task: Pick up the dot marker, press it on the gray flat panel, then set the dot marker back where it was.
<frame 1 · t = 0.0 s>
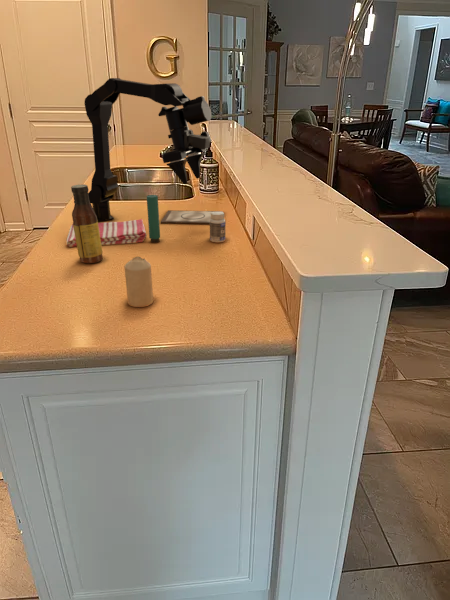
hand: (192, 181, 146), 15 cm above the counter, tool pointing down, fingers open, 9 cm apart
dot marker: (155, 241, 141), on the counter
dish towel: (107, 236, 146), on the counter
sauce bottle: (90, 261, 127), on the counter
candle: (140, 302, 103), on the counter
pill bottle: (217, 240, 142), on the counter
gray flat panel: (192, 218, 165), on the counter
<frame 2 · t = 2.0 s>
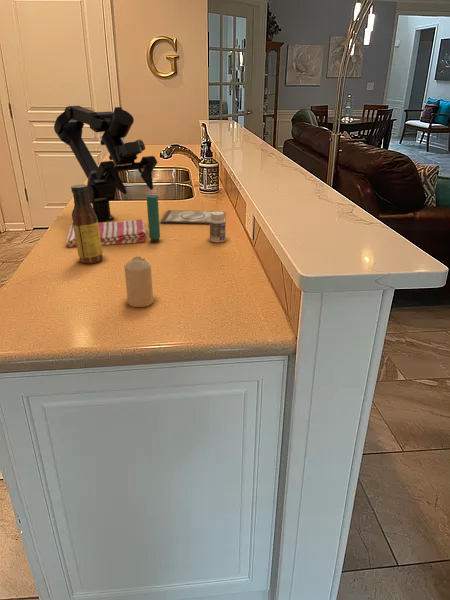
hand: (139, 191, 141), 14 cm above the counter, tool tilted 45°, fingers open, 9 cm apart
nothing on the counter moved.
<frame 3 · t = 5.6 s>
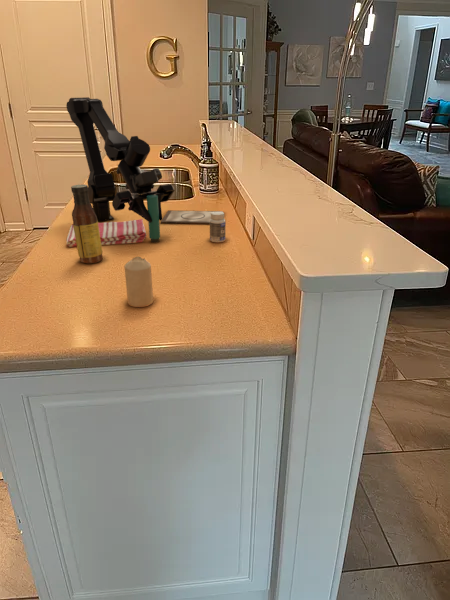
hand: (156, 220, 137), 7 cm above the counter, tool tilted 45°, fingers closed on dot marker, 3 cm apart
dot marker: (155, 241, 141), on the counter, touching gripper
everything else where it was.
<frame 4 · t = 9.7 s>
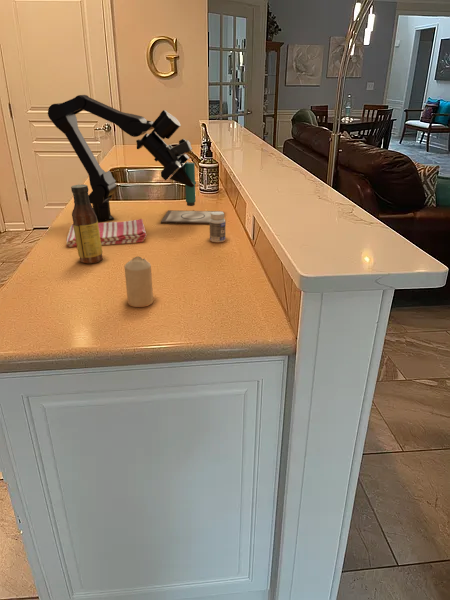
hand: (194, 185, 154), 13 cm above the counter, tool tilted 45°, fingers closed on dot marker, 3 cm apart
dot marker: (190, 205, 157), point 6 cm above the counter, touching gripper
everything else where it was.
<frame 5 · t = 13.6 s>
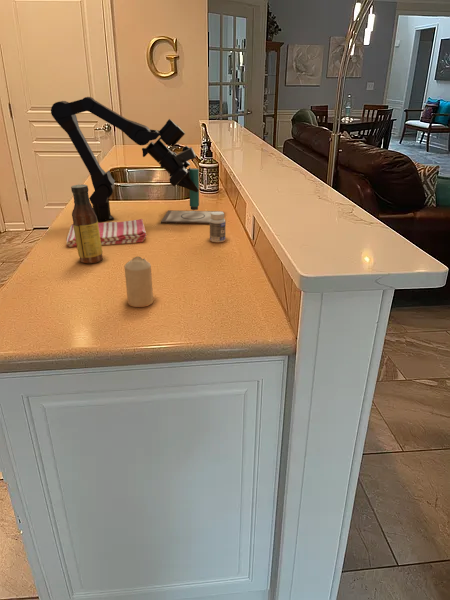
hand: (198, 190, 161), 9 cm above the counter, tool tilted 45°, fingers closed on dot marker, 3 cm apart
dot marker: (194, 209, 164), point 3 cm above the counter, touching gripper
everything else where it was.
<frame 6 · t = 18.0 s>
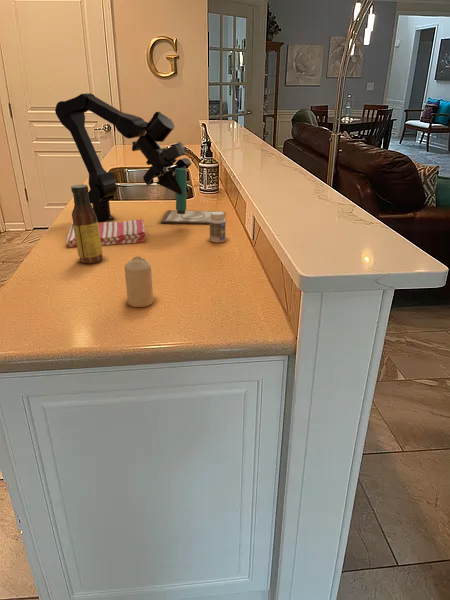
hand: (185, 192, 144), 13 cm above the counter, tool tilted 45°, fingers closed on dot marker, 3 cm apart
dot marker: (181, 213, 148), point 6 cm above the counter, touching gripper
everything else where it was.
when the fingers open (7 cm above the counter, at t = 21.7 s): dot marker stays where it is, on the counter.
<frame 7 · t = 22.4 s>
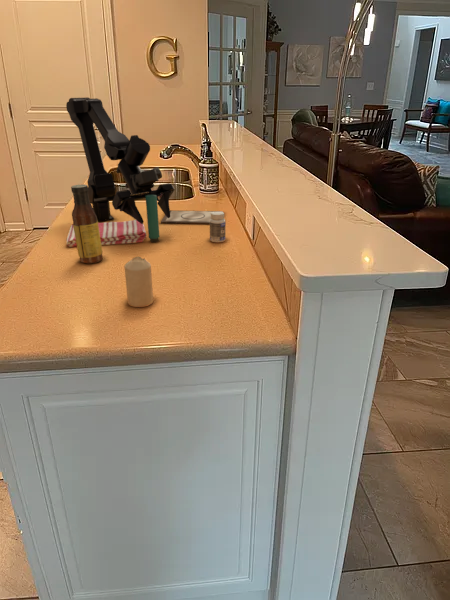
hand: (156, 220, 137), 7 cm above the counter, tool tilted 45°, fingers open, 9 cm apart
dot marker: (154, 241, 141), on the counter
everything else where it was.
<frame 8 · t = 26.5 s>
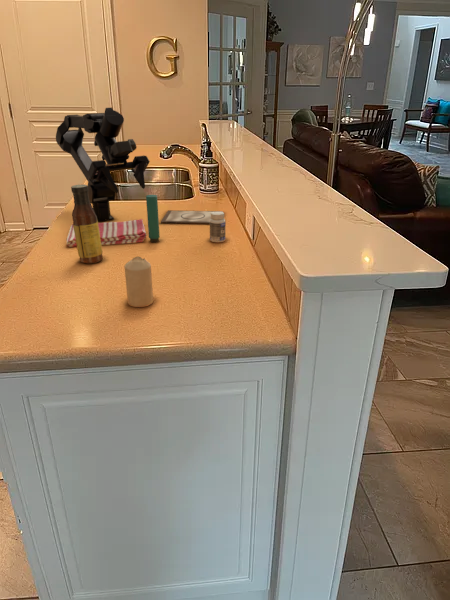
hand: (131, 190, 143), 14 cm above the counter, tool tilted 45°, fingers open, 9 cm apart
nothing on the counter moved.
at the end: dot marker tilted 0°; dot marker 0.3 cm from the target spot on the counter beside the gray flat panel, on the counter; the gripper is holding nothing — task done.
